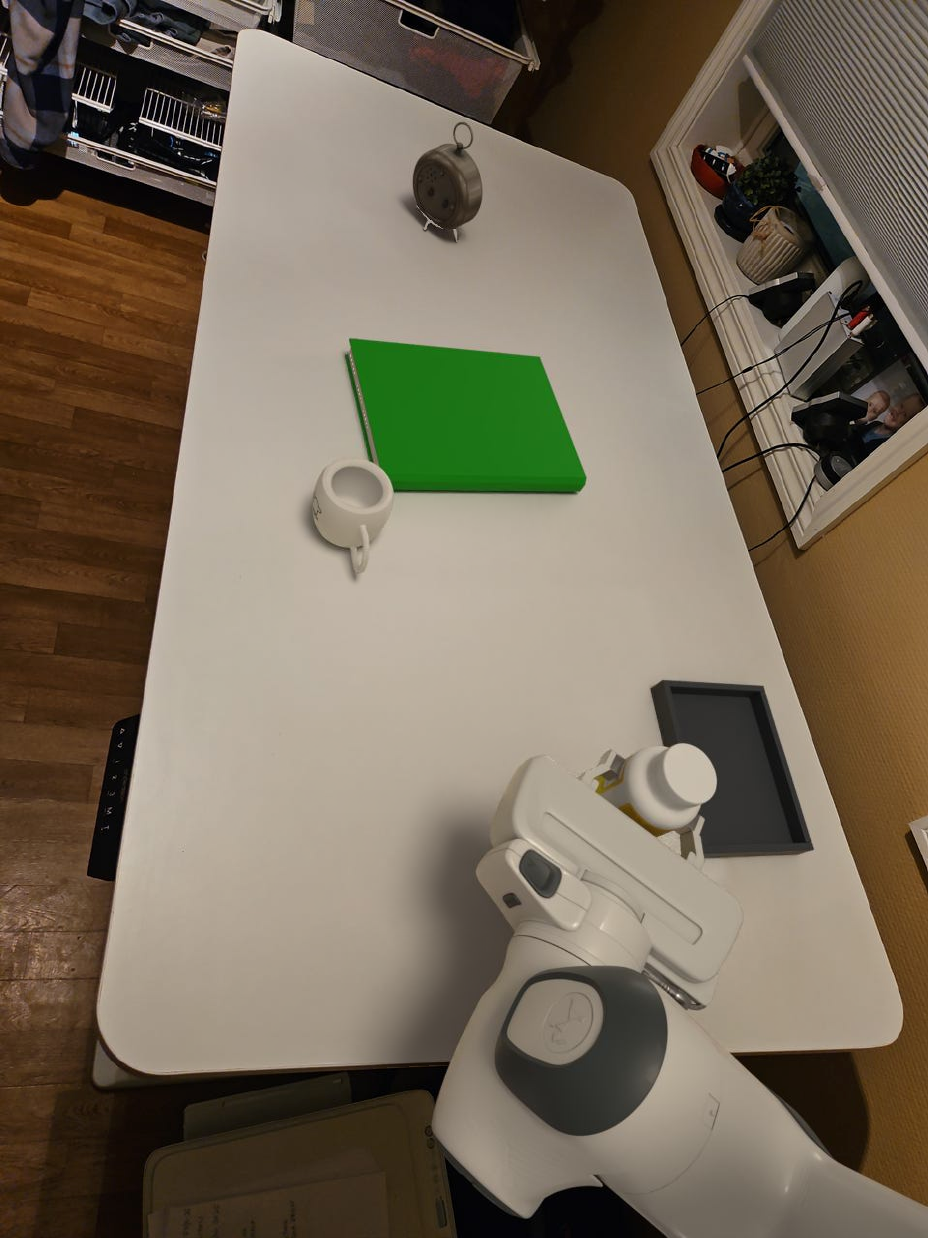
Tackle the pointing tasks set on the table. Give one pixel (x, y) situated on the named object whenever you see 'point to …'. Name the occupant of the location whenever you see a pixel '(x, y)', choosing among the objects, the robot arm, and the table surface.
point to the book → (461, 419)
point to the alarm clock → (448, 184)
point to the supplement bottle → (661, 786)
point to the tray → (736, 767)
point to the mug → (352, 505)
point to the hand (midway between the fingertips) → (653, 784)
